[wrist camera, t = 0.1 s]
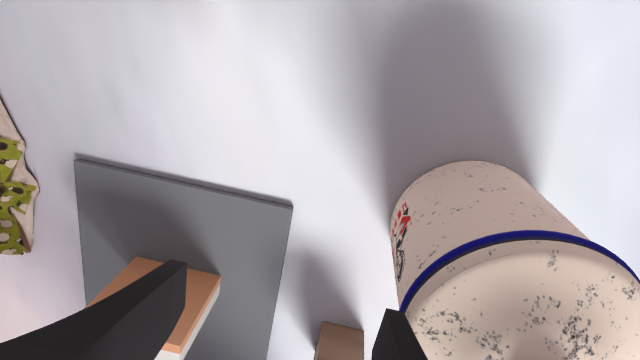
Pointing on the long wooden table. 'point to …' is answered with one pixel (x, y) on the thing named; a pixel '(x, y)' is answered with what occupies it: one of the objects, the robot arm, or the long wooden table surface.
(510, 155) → the long wooden table surface
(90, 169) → the mat
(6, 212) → the bear figurine
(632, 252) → the long wooden table surface
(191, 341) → the tile
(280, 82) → the long wooden table surface
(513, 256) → the teacup with lid
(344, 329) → the tan wooden brick
